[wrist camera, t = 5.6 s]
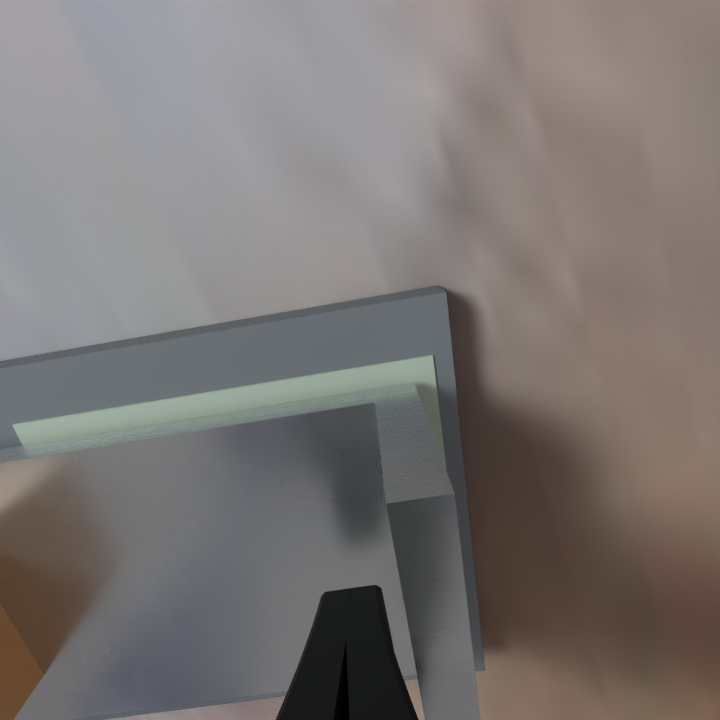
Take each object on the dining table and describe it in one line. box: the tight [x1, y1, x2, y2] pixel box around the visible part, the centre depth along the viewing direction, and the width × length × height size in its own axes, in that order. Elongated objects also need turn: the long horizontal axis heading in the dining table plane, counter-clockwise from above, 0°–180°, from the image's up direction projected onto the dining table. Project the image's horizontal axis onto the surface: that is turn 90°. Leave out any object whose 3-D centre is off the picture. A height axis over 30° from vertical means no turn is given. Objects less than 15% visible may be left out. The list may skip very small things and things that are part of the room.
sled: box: [0, 382, 480, 720], centre depth 10 cm, size 9×19×4 cm, turn 100°
